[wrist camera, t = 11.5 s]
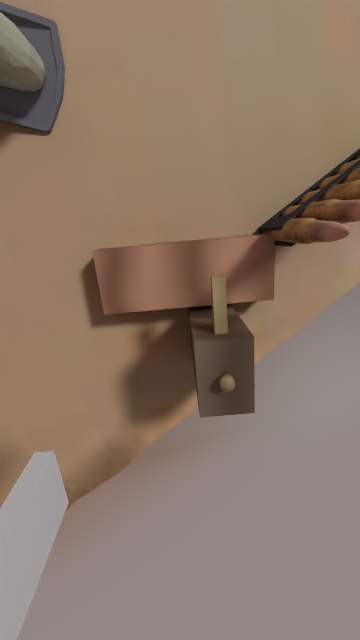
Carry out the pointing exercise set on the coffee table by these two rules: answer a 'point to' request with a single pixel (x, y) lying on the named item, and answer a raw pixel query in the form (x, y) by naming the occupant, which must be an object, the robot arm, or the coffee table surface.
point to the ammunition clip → (320, 208)
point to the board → (185, 273)
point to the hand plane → (29, 69)
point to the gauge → (221, 356)
